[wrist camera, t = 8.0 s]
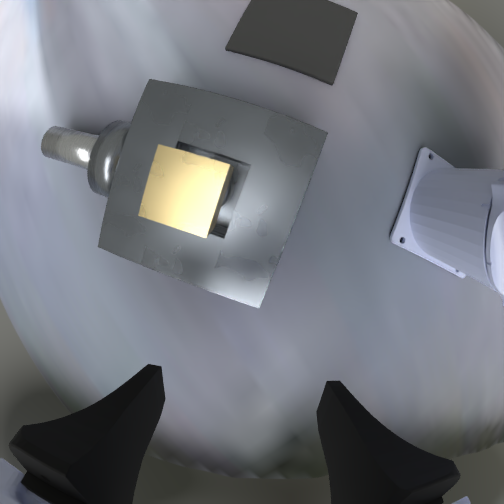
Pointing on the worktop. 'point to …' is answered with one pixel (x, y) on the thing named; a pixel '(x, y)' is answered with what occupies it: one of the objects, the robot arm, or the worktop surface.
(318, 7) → the mat
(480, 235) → the robot arm
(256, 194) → the chuck
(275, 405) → the worktop surface
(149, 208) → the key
